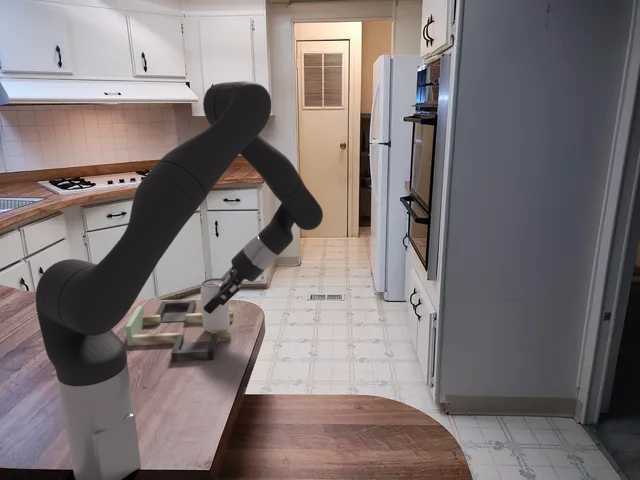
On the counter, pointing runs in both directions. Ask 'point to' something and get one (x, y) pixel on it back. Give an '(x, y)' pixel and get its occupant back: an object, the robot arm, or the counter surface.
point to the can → (221, 314)
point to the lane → (181, 349)
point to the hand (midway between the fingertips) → (208, 304)
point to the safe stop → (135, 324)
